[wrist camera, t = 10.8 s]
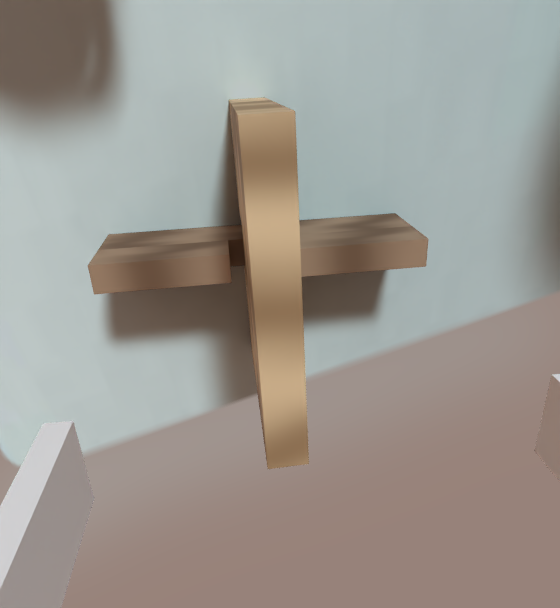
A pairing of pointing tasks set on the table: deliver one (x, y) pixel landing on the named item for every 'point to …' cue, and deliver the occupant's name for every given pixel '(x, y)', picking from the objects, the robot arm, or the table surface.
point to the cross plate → (273, 271)
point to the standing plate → (230, 252)
